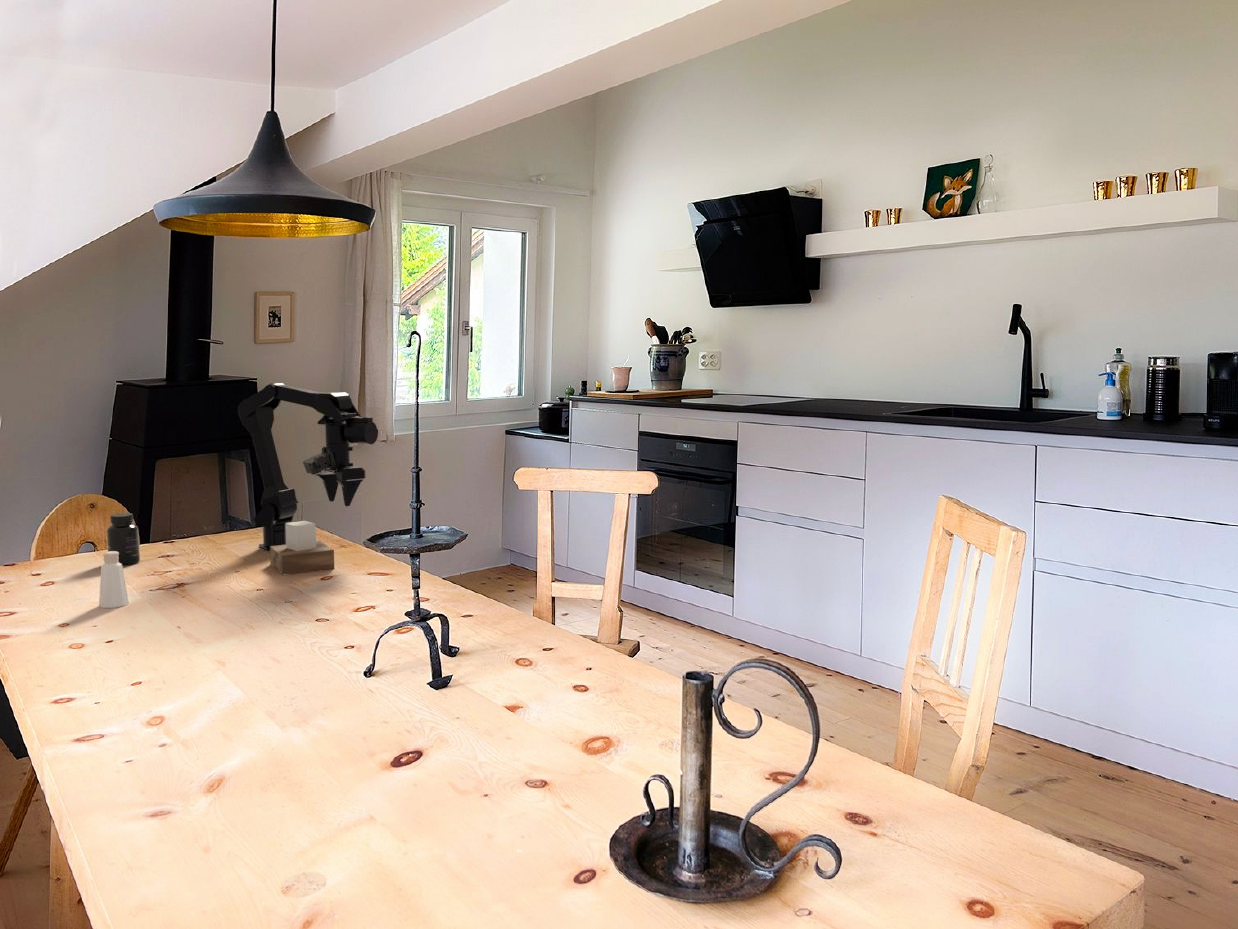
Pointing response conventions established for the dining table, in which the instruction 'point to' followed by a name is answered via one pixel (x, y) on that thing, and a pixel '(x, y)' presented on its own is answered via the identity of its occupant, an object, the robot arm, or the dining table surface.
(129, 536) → the supplement bottle
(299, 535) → the grey block
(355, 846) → the dining table surface
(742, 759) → the dining table surface
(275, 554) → the walnut box
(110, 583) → the salt shaker
